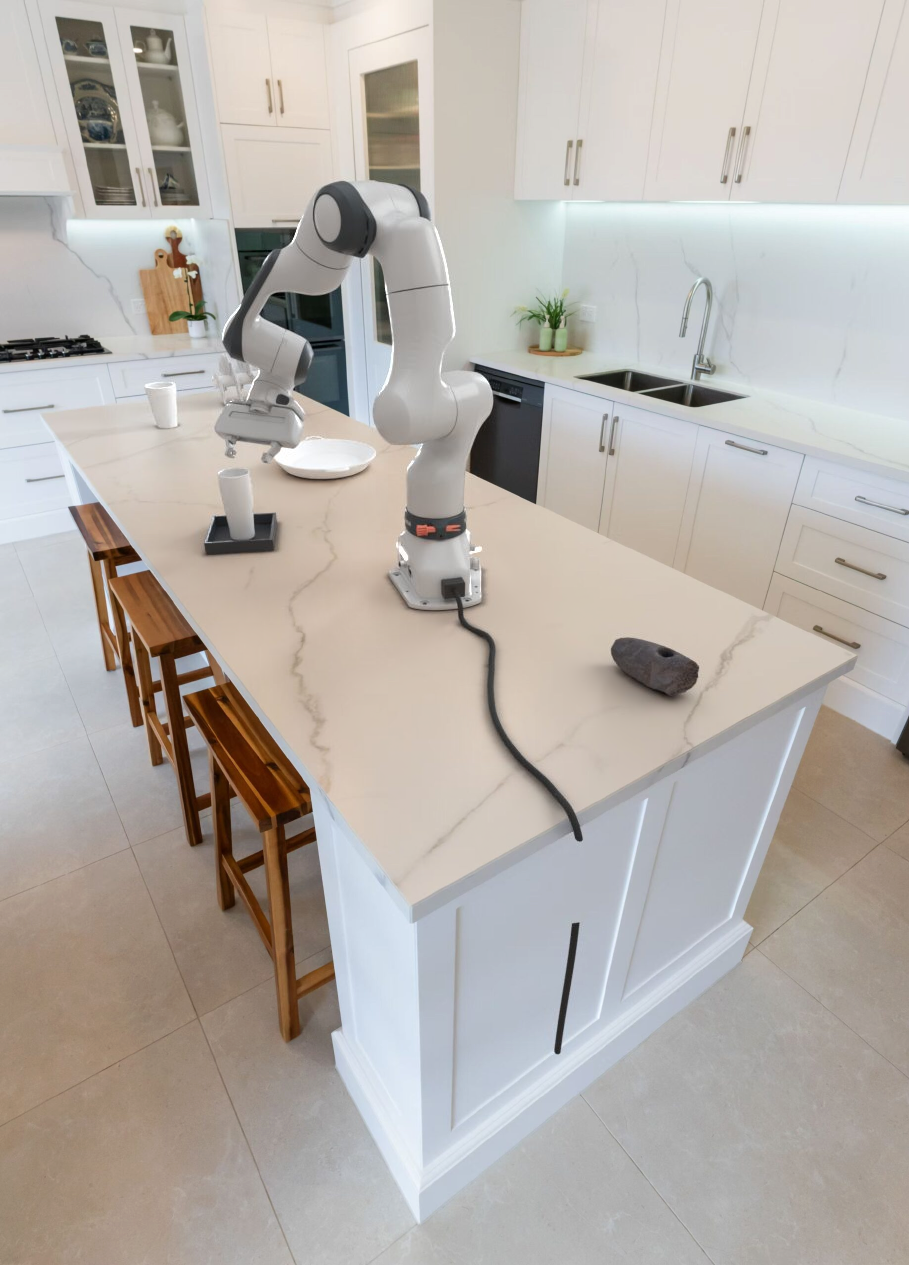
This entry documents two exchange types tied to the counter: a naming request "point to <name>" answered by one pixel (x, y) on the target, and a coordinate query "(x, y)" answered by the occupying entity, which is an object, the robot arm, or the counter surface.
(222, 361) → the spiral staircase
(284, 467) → the pan
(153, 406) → the foam cup
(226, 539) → the baking tray
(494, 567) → the counter surface
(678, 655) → the perforated stone tool
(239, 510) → the white tall cup
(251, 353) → the robot arm
